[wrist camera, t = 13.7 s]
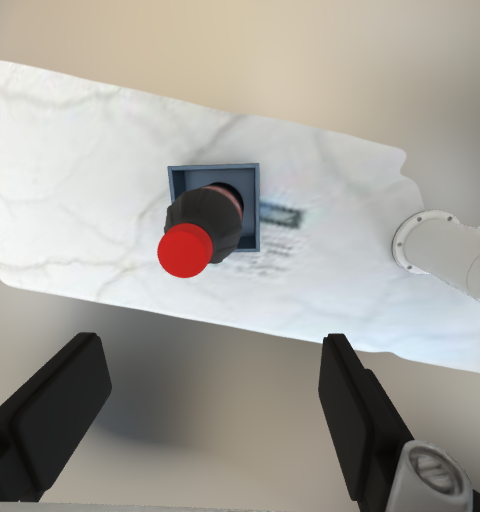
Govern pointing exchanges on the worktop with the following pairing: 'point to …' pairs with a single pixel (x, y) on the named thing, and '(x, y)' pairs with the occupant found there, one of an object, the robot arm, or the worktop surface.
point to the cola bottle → (201, 229)
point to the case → (234, 175)
